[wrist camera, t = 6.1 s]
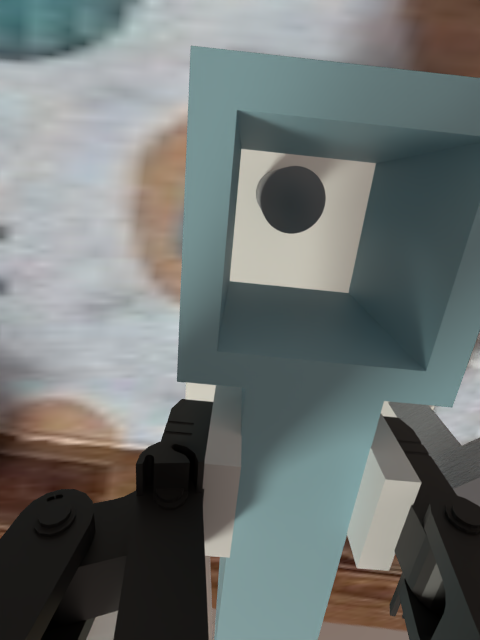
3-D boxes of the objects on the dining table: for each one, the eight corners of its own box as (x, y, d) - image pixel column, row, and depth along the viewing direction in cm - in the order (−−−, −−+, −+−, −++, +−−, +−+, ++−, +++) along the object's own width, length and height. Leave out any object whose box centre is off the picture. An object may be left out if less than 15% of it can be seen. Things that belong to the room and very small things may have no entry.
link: (218, 118, 11) (190, 45, 6) (406, 138, 11) (567, 87, 6) (191, 517, 17) (164, 679, 11) (315, 528, 17) (349, 693, 12)
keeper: (337, 357, 25) (415, 505, 13) (396, 324, 24) (531, 454, 12) (378, 418, 26) (475, 593, 15) (433, 389, 25) (580, 554, 14)
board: (203, 83, 19) (176, 21, 11) (518, 118, 19) (693, 79, 12) (186, 434, 27) (164, 530, 20) (404, 452, 28) (462, 554, 20)
